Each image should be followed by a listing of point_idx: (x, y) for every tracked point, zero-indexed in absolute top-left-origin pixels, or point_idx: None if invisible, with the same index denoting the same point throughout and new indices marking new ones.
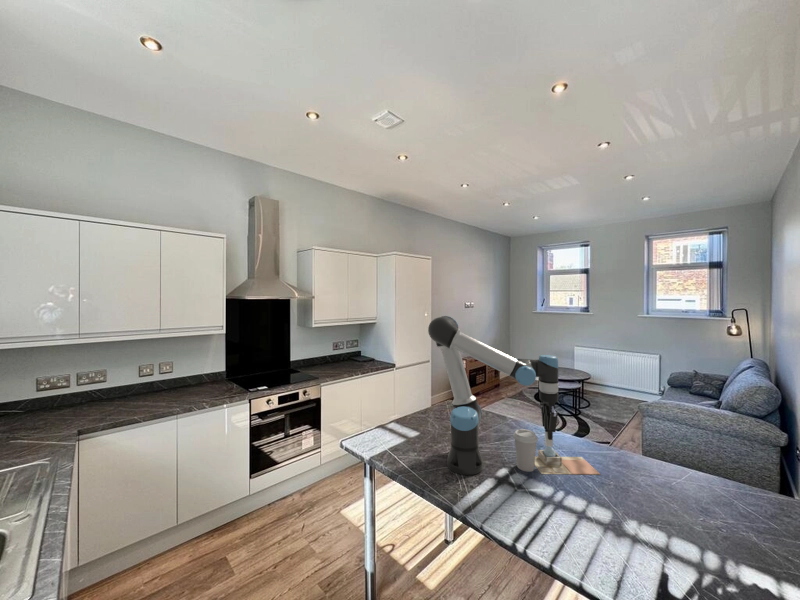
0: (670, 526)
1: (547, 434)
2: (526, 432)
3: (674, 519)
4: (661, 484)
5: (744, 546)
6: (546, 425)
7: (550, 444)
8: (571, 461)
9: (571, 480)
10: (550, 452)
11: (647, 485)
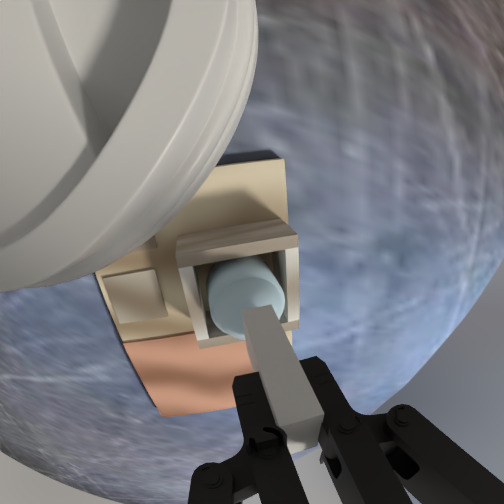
0: (16, 426)
1: (268, 403)
2: (41, 73)
3: (43, 441)
4: (174, 473)
5: (37, 462)
6: (344, 469)
7: (248, 348)
8: (243, 363)
9: (86, 323)
10: (215, 311)
11: (158, 461)
